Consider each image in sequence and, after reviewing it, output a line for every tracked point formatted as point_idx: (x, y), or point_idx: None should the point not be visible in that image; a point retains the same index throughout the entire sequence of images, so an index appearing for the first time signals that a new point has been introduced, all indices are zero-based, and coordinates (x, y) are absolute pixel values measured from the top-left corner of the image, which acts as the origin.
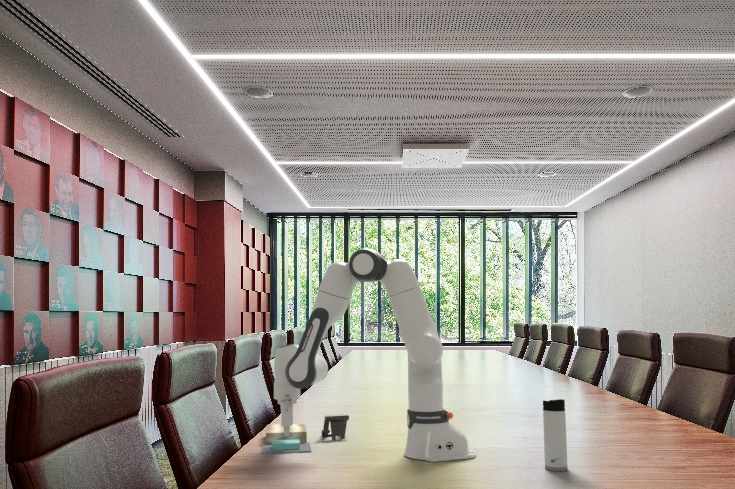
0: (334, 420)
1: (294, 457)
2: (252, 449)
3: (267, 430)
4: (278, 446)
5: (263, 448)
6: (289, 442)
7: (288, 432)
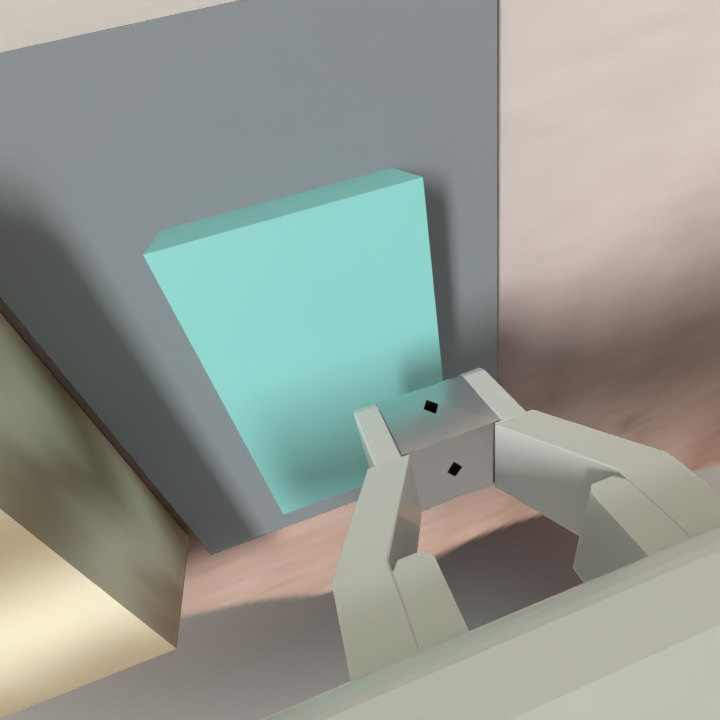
0: None
1: (669, 156)
2: None
3: (15, 704)
4: None
5: None
6: (383, 331)
7: (506, 406)
